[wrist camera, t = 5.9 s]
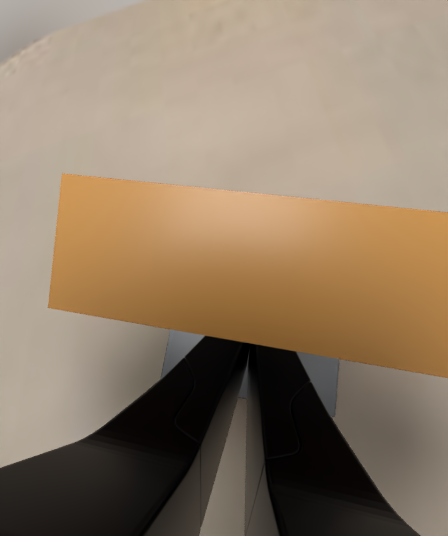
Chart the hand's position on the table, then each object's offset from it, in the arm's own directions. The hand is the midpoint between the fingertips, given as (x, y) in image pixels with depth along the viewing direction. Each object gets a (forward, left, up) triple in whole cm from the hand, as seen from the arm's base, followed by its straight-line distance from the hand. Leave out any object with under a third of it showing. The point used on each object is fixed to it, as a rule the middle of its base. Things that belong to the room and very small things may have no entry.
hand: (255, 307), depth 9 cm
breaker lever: (+2, -2, -5) cm, 6 cm away
